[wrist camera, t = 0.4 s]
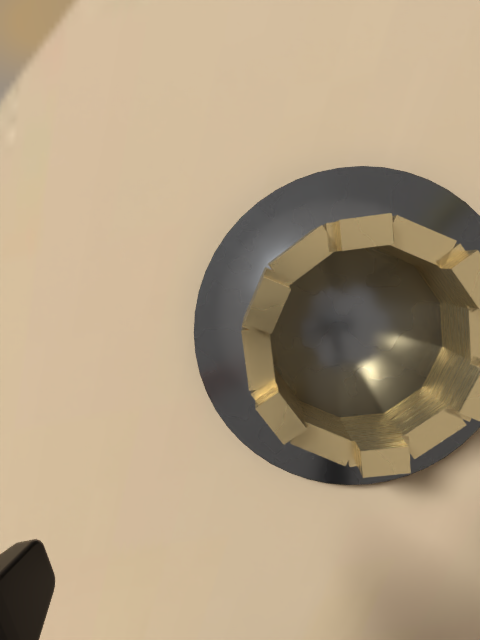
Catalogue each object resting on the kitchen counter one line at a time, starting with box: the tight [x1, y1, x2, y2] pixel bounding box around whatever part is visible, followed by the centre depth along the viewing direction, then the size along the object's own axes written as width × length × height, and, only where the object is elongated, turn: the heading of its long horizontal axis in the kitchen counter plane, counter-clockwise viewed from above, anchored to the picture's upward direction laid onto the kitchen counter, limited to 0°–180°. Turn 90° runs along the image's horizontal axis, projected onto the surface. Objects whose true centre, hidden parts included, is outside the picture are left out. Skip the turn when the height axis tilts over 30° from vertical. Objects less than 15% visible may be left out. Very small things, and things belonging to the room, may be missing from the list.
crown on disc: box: [194, 166, 480, 485], centre depth 19 cm, size 16×16×5 cm
